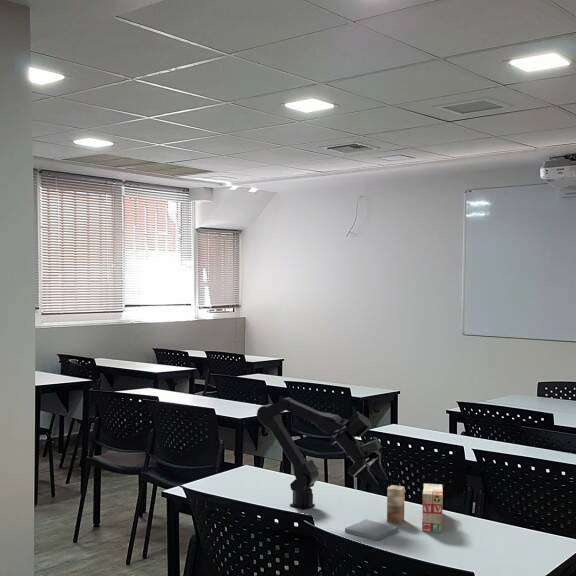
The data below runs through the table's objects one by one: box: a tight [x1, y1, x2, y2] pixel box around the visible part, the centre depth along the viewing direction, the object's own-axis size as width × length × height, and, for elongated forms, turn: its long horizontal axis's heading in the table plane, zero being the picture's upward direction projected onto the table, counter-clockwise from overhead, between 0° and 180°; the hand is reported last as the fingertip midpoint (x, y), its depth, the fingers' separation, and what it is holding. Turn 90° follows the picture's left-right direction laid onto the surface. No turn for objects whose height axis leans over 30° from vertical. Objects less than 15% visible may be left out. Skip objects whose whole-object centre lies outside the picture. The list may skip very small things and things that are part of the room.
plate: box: [344, 518, 399, 541], centre depth 227 cm, size 12×12×1 cm
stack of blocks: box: [421, 483, 444, 534], centre depth 237 cm, size 21×6×12 cm, turn 168°
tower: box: [386, 484, 406, 525], centre depth 238 cm, size 4×4×11 cm
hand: (381, 482), depth 240 cm, fingers open, 9 cm apart
